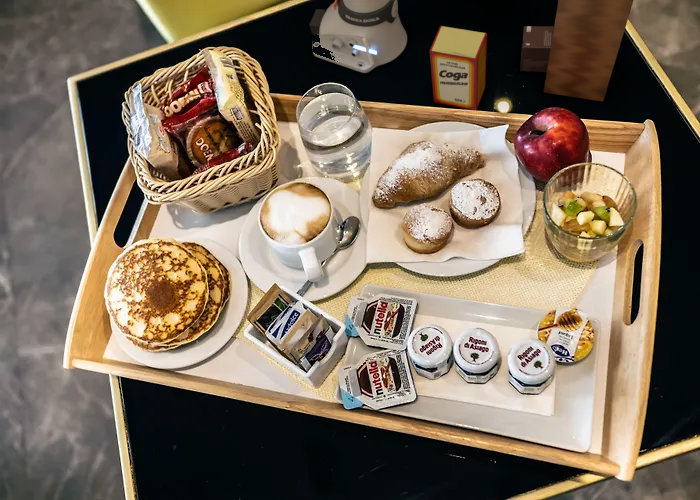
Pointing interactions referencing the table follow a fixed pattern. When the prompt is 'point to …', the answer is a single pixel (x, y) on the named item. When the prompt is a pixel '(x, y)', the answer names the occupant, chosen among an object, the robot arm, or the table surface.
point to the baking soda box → (458, 67)
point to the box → (536, 48)
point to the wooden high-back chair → (585, 46)
